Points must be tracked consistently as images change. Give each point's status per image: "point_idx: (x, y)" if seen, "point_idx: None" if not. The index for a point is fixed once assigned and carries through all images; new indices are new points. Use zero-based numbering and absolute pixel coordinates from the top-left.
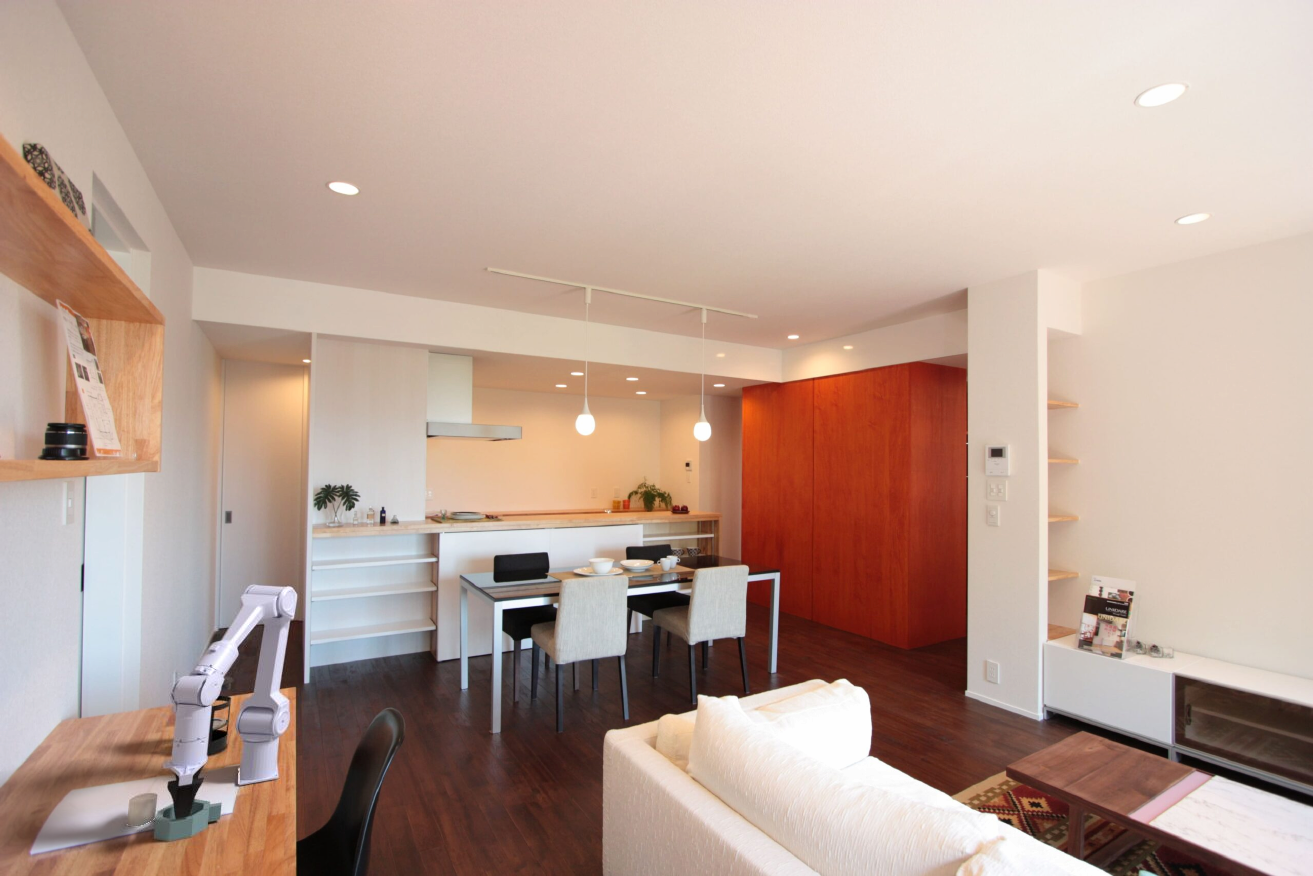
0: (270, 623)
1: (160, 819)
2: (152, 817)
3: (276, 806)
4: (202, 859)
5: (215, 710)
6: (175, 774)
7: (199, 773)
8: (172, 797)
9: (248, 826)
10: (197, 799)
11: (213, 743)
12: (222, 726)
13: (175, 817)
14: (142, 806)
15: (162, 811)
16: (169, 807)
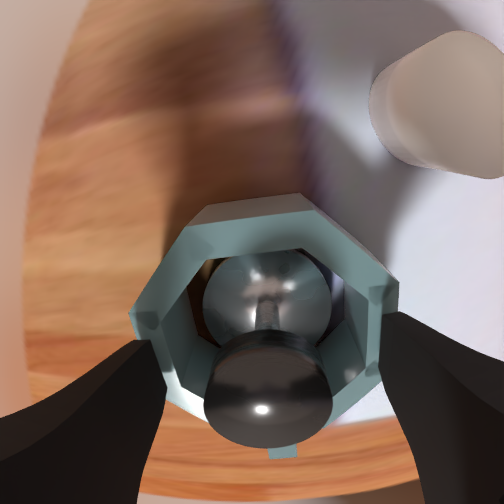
0: None
1: (178, 254)
2: (407, 159)
3: (316, 489)
4: (48, 374)
5: None
6: (489, 413)
7: (426, 496)
8: (19, 413)
9: (213, 460)
10: (380, 380)
11: None
12: None
13: (126, 344)
14: (410, 104)
15: (298, 240)
16: (341, 270)
